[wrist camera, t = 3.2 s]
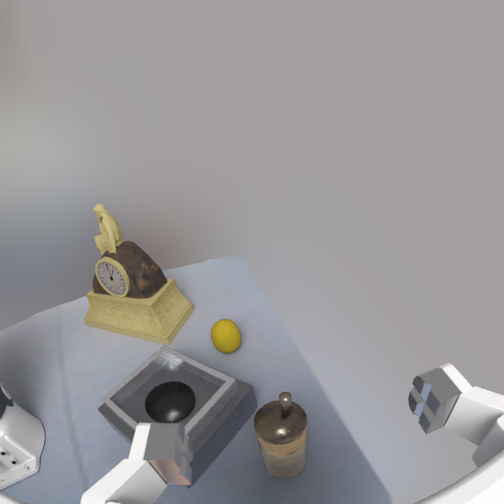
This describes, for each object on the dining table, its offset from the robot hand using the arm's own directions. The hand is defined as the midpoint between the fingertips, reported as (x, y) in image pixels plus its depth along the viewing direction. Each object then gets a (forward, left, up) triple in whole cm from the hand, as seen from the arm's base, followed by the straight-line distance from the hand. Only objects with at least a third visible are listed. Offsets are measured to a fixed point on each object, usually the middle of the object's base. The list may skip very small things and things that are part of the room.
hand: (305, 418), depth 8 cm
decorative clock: (+22, +56, -32) cm, 69 cm away
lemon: (+25, +28, -32) cm, 50 cm away
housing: (+7, +25, -32) cm, 41 cm away
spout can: (+9, +7, -32) cm, 34 cm away
